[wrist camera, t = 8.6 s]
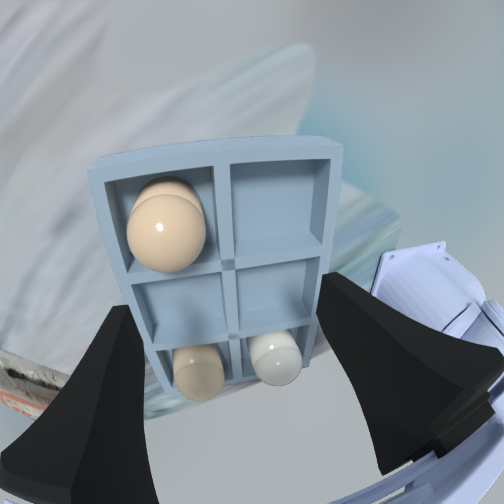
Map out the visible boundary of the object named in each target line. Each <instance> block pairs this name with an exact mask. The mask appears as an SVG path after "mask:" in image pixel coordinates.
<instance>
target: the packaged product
mask: <svg viewBox="0 0 504 504" xmlns="http://www.w3.org/2000/svg"><path fill="white" fill-rule="evenodd" d="M69 378H70V375H67V374H64V373H61V372H58V371H56V370H53V369H50V368H48V367H45V366H42V365H40V364H37V363H35V362H32V361H29V360H27V359H24V358H22V357H20V356H17V355H15V354H12V353H10V352H8V351H5V350H3V349H1V348H0V400H1V401H2V402H3V403H4V404H5V405H6V406H7V407H9V408H11V409H13V410H15V411H17V412H20V413H22V414H24V415H27V416H29V417H32V418H34V419H36V420H37V418H38V417H39V416H40V415H41V414H42V413H43V412H44V410H45V409H46V408H47V407H48V406H49V404H50V403H51V402H52V401H53V400H54V398H55V397H56V396H57V395H58V393H59V392H60V391H61V389H62V388H63V387H64V385H65V384H66V382H67V381H68V379H69Z"/></svg>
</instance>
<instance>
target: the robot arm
mask: <svg viewBox="0 0 504 504" xmlns="http://www.w3.org/2000/svg"><path fill="white" fill-rule="evenodd" d="M445 248H446V242H445V241H439V242H434V243H430V244H425V245H420V246H415V247H409V248H404V249H399V250H394V251H389V252H385V253H384V254H383V255H382V257H381V260H380V264H379V268H378V271H377V275H376V278H375V282H374V285H373V288H372V292H371V294H370V293H368V292H367V291H365V290H364V289H362V288H361V287H359V286H358V285H356V284H355V283H353V282H352V281H350V280H349V279H347V278H346V277H344V276H343V275H341V274H339V273H338V272H333V273H327V274H322V280H321V286H320V292H319V298H318V303H317V309H316V315H317V318H318V320H319V323H320V325H321V328H322V330H323V333H324V335H325V337H326V339H327V340H328V342H329V344H330V346H331V348H332V349H333V351H334V353H335V355H336V356H337V358H338V360H339V362H340V363H341V365H342V367H343V369H344V370H345V372H346V374H347V376H348V378H349V380H350V381H351V384H352V386H353V388H354V390H355V393H356V395H357V398H358V400H359V403H360V405H361V408H362V411H363V414H364V416H365V419H366V422H367V425H368V428H369V432H370V435H371V438H372V442H373V446H374V450H375V454H376V458H377V463H378V468H379V470H380V471H381V474H382V475H386V474H388V473H390V472H391V471H393V470H395V469H397V468H399V467H401V466H402V465H404V464H406V463H408V462H409V461H411V460H412V461H413V464H411V465H409V466H407V467H406V468H404V469H402V470H400V471H398V472H397V473H395V474H393V475H391V476H389V477H387V478H385V479H383V480H382V481H379V482H377V483H375V484H373V485H371V486H369V487H367V488H365V489H362V490H360V491H358V492H356V493H353V494H351V495H349V496H346V497H344V498H341V499H339V500H336V501H333V502H331V503H328V504H371V503H373V502H375V501H377V500H379V499H381V498H383V497H385V496H387V495H389V494H391V493H393V492H395V491H396V490H398V489H400V488H402V487H404V486H405V485H406V486H405V490H404V492H402V493H400V494H398V495H396V496H393V497H391V498H389V499H387V500H385V501H383V502H381V503H379V504H477V503H478V501H479V500H480V499H481V498H482V497H483V495H484V494H485V493H486V492H487V490H488V489H489V488H490V487H491V485H492V484H493V483H494V481H495V480H496V479H497V477H498V476H499V475H500V473H501V472H502V470H503V469H504V309H503V308H502V307H501V306H500V305H498V304H497V303H496V302H495V301H493V300H490V301H486V298H485V293H484V290H483V288H482V286H481V284H480V282H479V281H478V280H477V279H476V278H475V277H474V276H473V275H472V274H471V273H470V272H468V270H466V269H465V268H464V267H463V266H462V265H461V264H460V263H459V262H458V261H456V260H455V259H454V258H453V257H452V256H450V255H449V254H448V253H447V252H446V251H445ZM144 378H145V358H144V342H143V339H142V337H141V335H140V332H139V330H138V328H137V325H136V323H135V320H134V318H133V315H132V313H131V310H130V307H129V305H119V306H113V307H112V309H111V310H110V312H109V313H108V315H107V317H106V318H105V320H104V322H103V324H102V325H101V327H100V329H99V331H98V332H97V334H96V336H95V338H94V339H93V341H92V343H91V344H90V346H89V348H88V349H87V351H86V353H85V355H84V356H83V358H82V359H81V361H80V362H79V364H78V366H77V367H76V369H75V370H74V372H73V374H72V375H71V376H70V378H69V379H68V381H67V382H66V384H65V385H64V387H63V388H62V389H61V391H60V392H59V393H58V395H57V396H56V397H55V398H54V400H53V401H52V402H51V403H50V404H49V406H48V407H47V408H46V409H45V410H44V412H43V413H42V414H41V415H40V416H39V417H38V418H37V420H36V421H35V422H34V423H33V424H32V425H31V426H30V427H29V428H28V429H27V430H26V431H25V432H24V433H23V434H22V435H21V436H20V437H19V438H17V439H16V440H15V441H14V442H13V443H12V444H11V445H9V446H8V447H7V448H6V449H5V450H3V451H2V452H1V456H0V488H1V489H2V490H4V491H6V492H8V493H10V494H12V495H15V496H17V497H19V498H21V499H24V500H26V501H29V502H31V503H34V504H159V502H158V498H157V495H156V491H155V488H154V484H153V479H152V475H151V471H150V465H149V461H148V455H147V448H146V441H145V433H144V420H143V410H144ZM4 504H17V503H15V502H12V501H9V500H7V499H5V500H4Z"/></svg>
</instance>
